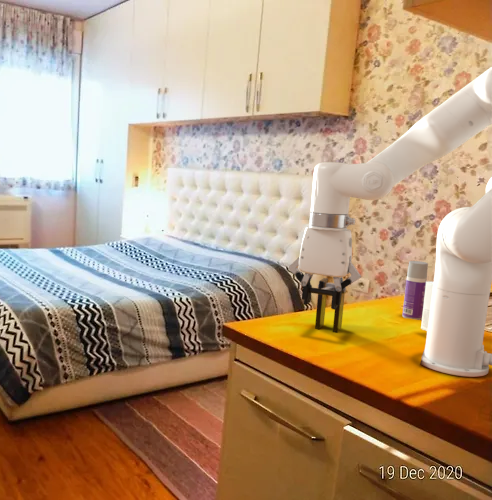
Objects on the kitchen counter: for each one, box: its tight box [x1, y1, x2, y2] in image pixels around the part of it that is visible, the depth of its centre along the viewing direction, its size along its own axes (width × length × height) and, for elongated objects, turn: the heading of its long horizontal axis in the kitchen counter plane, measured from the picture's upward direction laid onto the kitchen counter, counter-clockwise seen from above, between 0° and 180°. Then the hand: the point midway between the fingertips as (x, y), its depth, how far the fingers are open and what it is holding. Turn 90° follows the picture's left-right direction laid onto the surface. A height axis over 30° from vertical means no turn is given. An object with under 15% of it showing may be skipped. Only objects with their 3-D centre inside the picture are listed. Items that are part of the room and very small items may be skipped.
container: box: [401, 260, 429, 321], centre depth 136 cm, size 5×5×15 cm
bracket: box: [314, 277, 347, 334], centre depth 119 cm, size 10×8×13 cm
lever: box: [309, 282, 335, 297], centre depth 114 cm, size 12×5×2 cm, turn 147°
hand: (320, 304), depth 110 cm, fingers closed on lever, 5 cm apart
